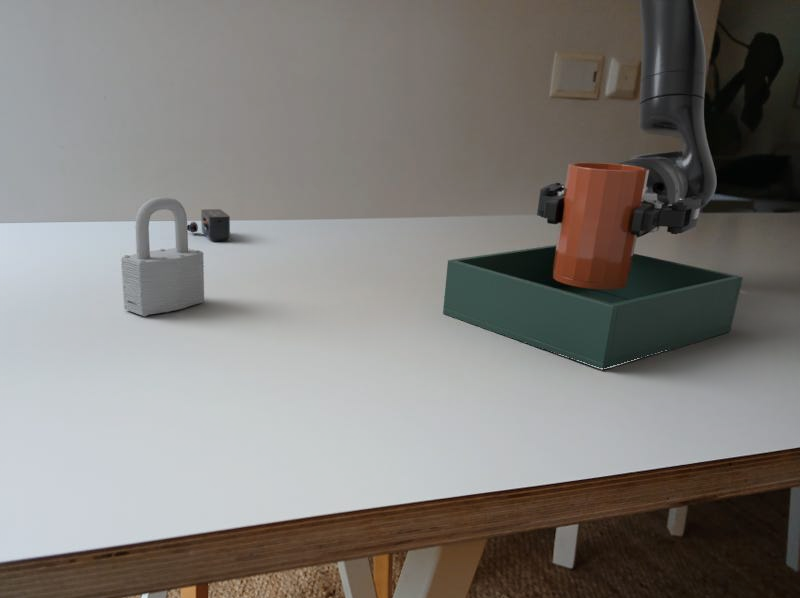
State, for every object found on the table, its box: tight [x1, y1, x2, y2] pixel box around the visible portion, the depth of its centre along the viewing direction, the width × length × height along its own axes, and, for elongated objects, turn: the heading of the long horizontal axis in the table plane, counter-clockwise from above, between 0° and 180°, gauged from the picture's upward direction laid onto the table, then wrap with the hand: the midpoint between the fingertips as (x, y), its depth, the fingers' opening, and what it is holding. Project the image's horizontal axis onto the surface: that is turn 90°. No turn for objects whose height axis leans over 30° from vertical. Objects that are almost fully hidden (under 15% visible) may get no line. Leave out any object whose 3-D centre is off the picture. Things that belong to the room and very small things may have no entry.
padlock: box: [120, 196, 205, 317], centre depth 66 cm, size 7×4×10 cm, turn 138°
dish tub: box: [442, 244, 744, 369], centre depth 67 cm, size 19×17×5 cm
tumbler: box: [553, 161, 649, 290], centre depth 65 cm, size 6×6×10 cm
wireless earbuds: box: [187, 208, 231, 242], centre depth 99 cm, size 5×7×3 cm, turn 19°
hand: (593, 217), depth 63 cm, fingers closed on tumbler, 6 cm apart
